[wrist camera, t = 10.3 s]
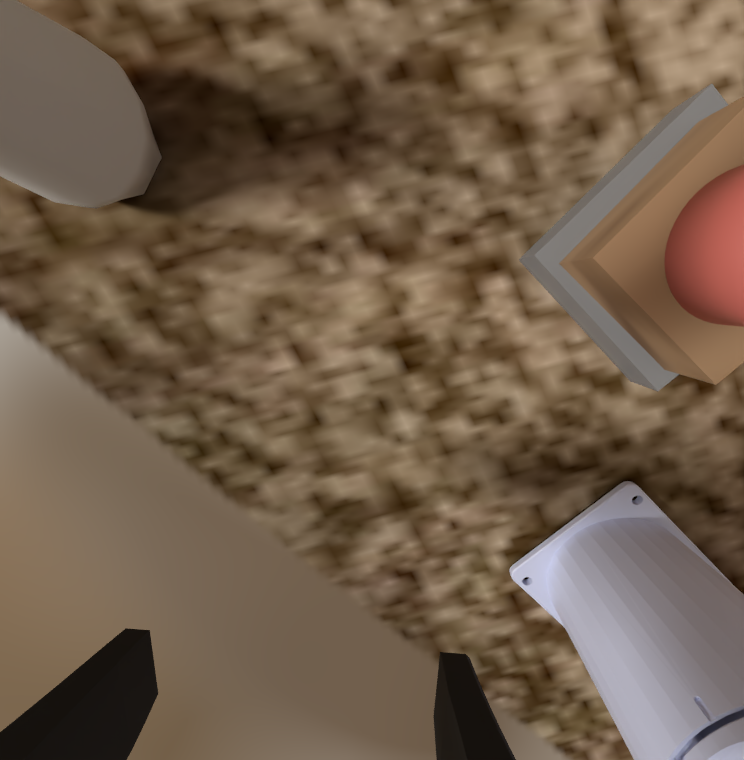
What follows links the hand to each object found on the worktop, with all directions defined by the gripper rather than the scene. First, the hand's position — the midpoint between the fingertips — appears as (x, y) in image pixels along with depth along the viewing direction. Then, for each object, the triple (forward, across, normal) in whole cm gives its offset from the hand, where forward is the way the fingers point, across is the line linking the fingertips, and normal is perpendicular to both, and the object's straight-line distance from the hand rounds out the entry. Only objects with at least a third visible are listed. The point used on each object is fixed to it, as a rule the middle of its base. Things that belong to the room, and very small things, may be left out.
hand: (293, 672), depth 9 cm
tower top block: (+9, -13, -11) cm, 19 cm away
